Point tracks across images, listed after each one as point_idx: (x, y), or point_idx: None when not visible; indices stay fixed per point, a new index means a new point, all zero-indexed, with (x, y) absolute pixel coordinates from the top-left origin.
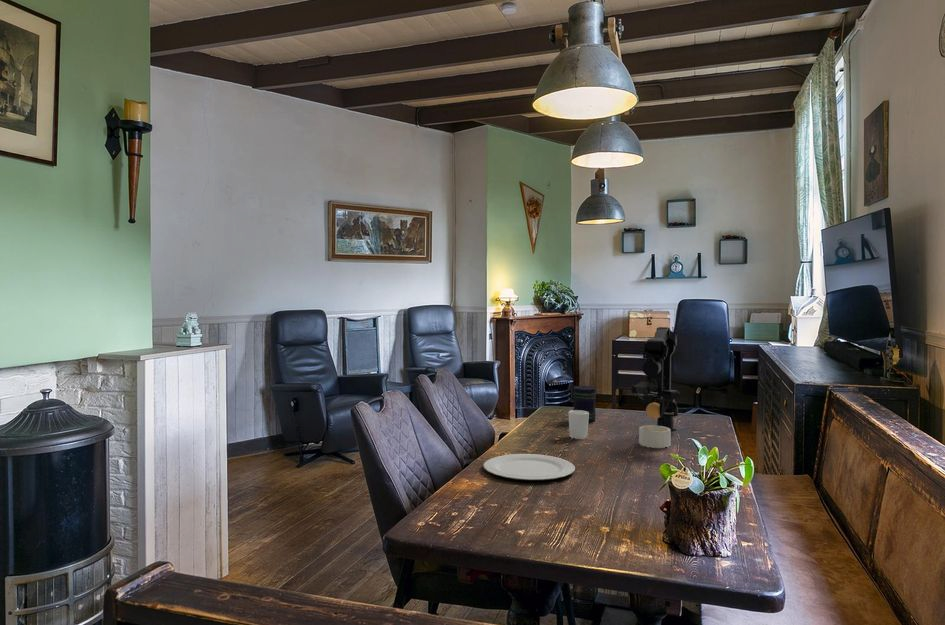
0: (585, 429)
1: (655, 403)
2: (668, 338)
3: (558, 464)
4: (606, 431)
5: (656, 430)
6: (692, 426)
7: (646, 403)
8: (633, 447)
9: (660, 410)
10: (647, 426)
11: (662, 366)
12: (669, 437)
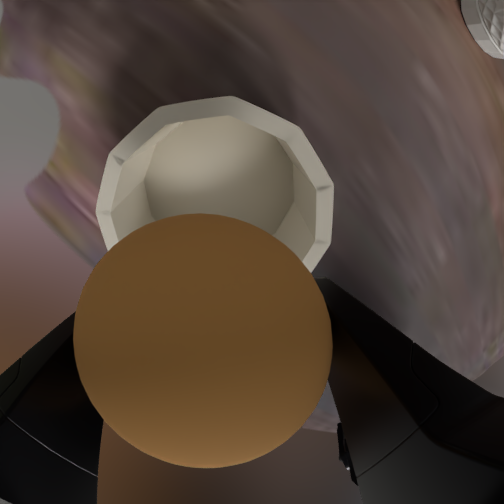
0: (488, 8)
1: (140, 444)
2: None
3: None
4: (490, 194)
5: None
6: (329, 421)
7: (373, 393)
8: (226, 32)
9: (56, 336)
10: (312, 240)
11: None
12: None
